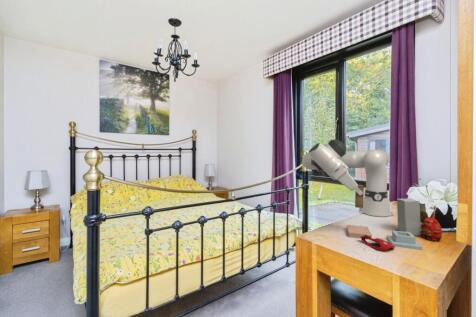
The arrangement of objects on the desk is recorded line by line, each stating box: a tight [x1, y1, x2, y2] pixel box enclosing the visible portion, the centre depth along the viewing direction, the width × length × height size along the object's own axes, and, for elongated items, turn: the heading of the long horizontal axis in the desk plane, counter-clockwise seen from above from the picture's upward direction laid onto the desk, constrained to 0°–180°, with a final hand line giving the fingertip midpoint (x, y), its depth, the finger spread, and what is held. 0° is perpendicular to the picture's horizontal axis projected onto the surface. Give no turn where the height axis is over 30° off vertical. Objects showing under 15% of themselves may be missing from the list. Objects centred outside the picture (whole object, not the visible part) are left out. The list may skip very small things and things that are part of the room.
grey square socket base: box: [386, 229, 423, 251], centre depth 100 cm, size 10×10×4 cm
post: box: [354, 184, 365, 209], centre depth 111 cm, size 3×3×10 cm
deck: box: [346, 224, 373, 239], centre depth 111 cm, size 12×9×2 cm
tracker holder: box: [360, 234, 396, 252], centre depth 97 cm, size 12×4×10 cm
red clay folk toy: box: [420, 204, 443, 242], centre depth 105 cm, size 8×7×15 cm
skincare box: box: [396, 198, 422, 237], centre depth 113 cm, size 8×7×16 cm
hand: (360, 193), depth 110 cm, fingers closed on post, 3 cm apart
